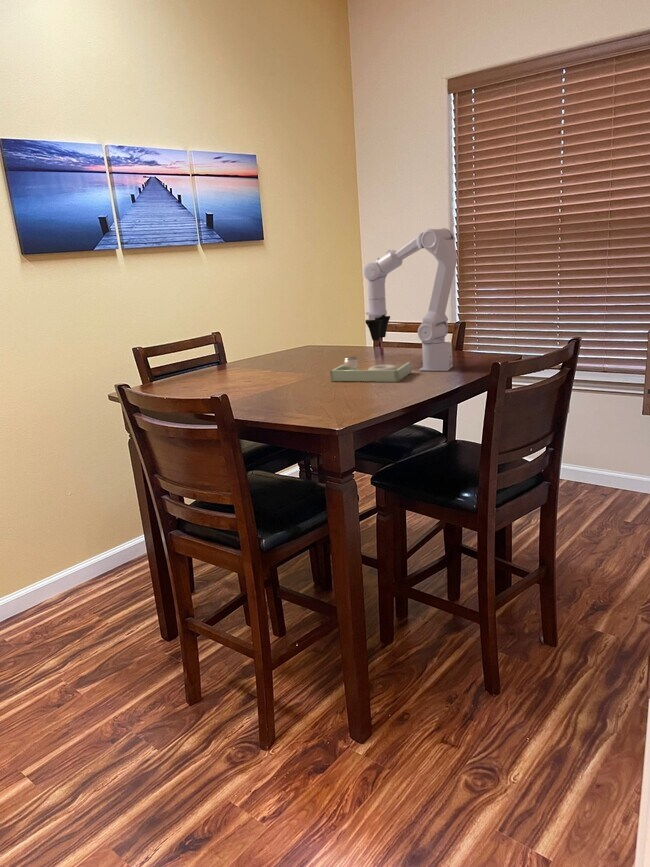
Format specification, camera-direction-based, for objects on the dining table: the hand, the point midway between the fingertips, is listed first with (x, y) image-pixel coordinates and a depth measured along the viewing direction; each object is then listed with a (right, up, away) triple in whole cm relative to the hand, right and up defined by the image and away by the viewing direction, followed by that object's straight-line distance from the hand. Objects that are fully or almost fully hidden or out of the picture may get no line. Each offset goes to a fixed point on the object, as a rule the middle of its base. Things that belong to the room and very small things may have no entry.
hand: (378, 338), depth 224 cm
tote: (-4, -15, -17) cm, 22 cm away
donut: (-1, -12, -14) cm, 19 cm away
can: (-10, -14, -13) cm, 21 cm away
